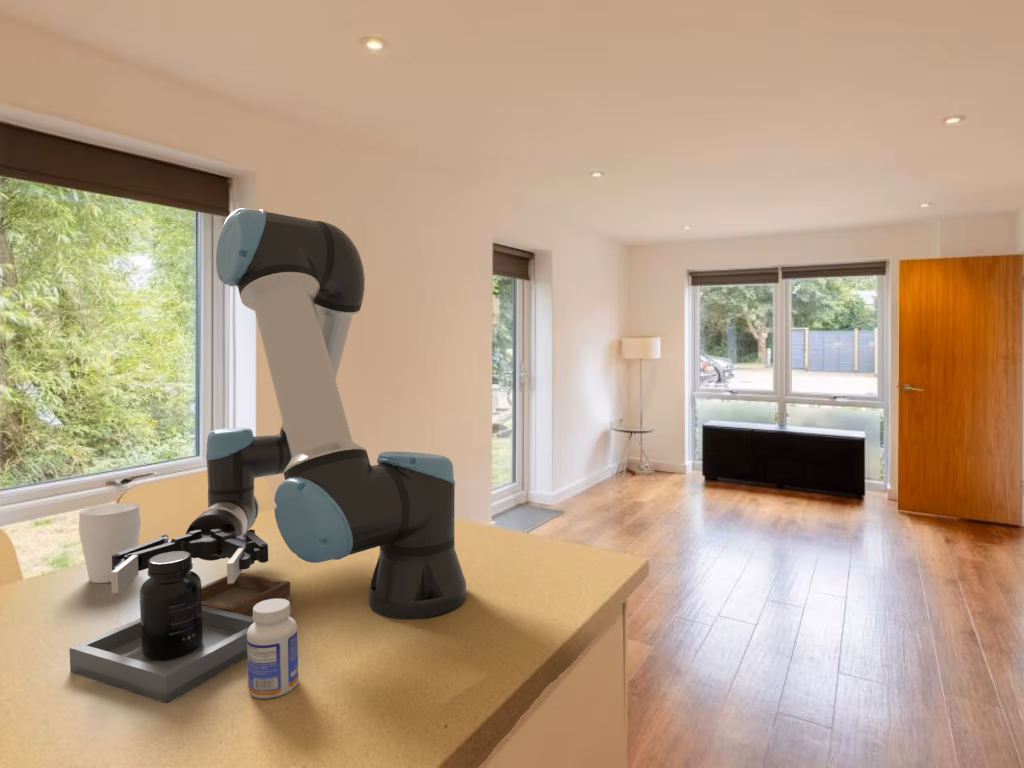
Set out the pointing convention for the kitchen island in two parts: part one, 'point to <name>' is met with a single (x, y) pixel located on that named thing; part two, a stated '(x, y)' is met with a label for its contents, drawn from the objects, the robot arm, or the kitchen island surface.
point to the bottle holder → (268, 585)
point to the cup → (107, 536)
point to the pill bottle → (272, 650)
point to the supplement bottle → (171, 607)
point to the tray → (129, 669)
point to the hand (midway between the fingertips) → (173, 578)
